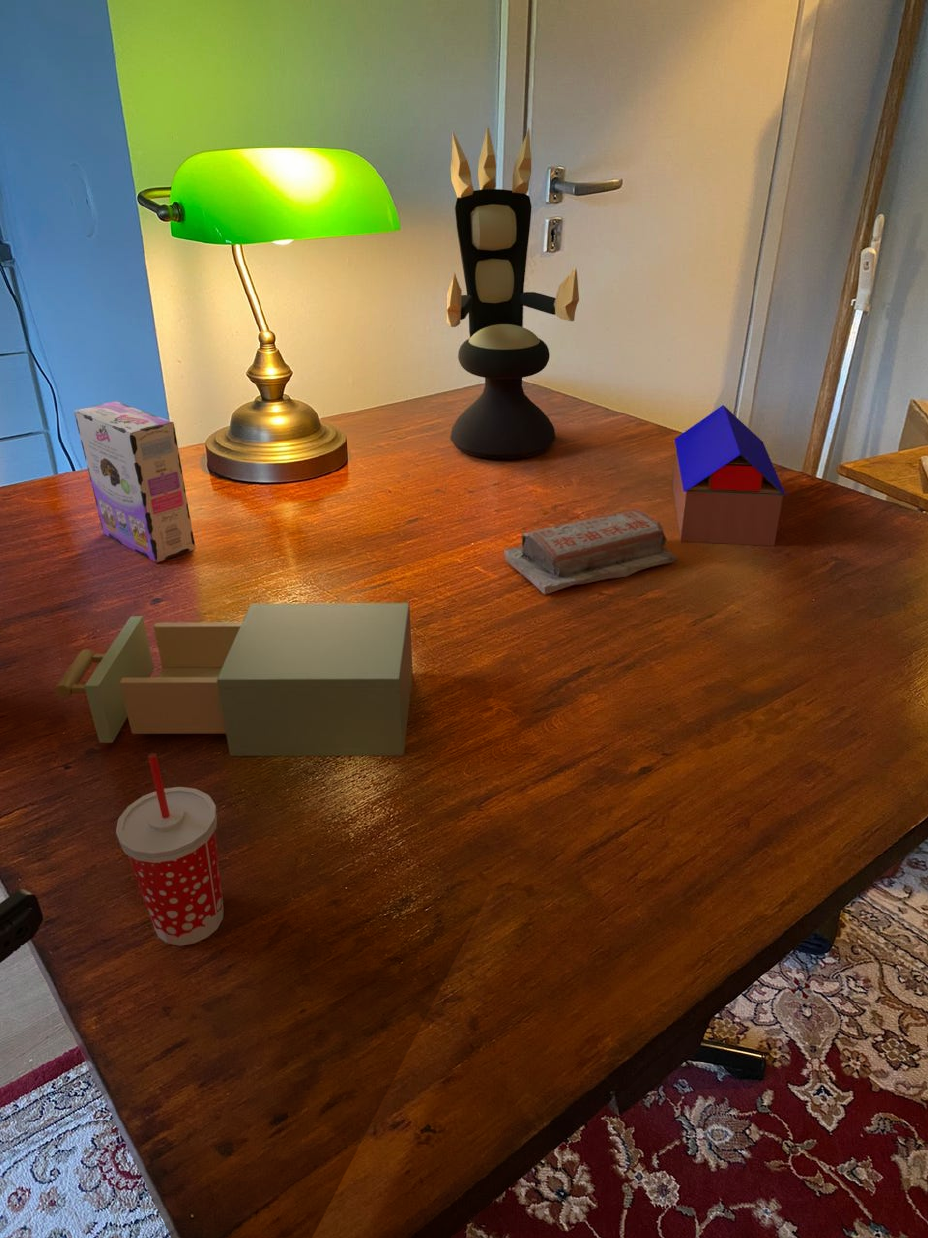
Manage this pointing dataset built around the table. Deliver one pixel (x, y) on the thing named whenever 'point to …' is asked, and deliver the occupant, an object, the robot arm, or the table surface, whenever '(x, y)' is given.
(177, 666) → the drawer
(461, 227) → the spiked throne chair
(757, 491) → the house
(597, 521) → the packaged product
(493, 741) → the table surface
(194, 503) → the table surface
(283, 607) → the cabinet
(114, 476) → the candy box
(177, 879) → the beverage cup
